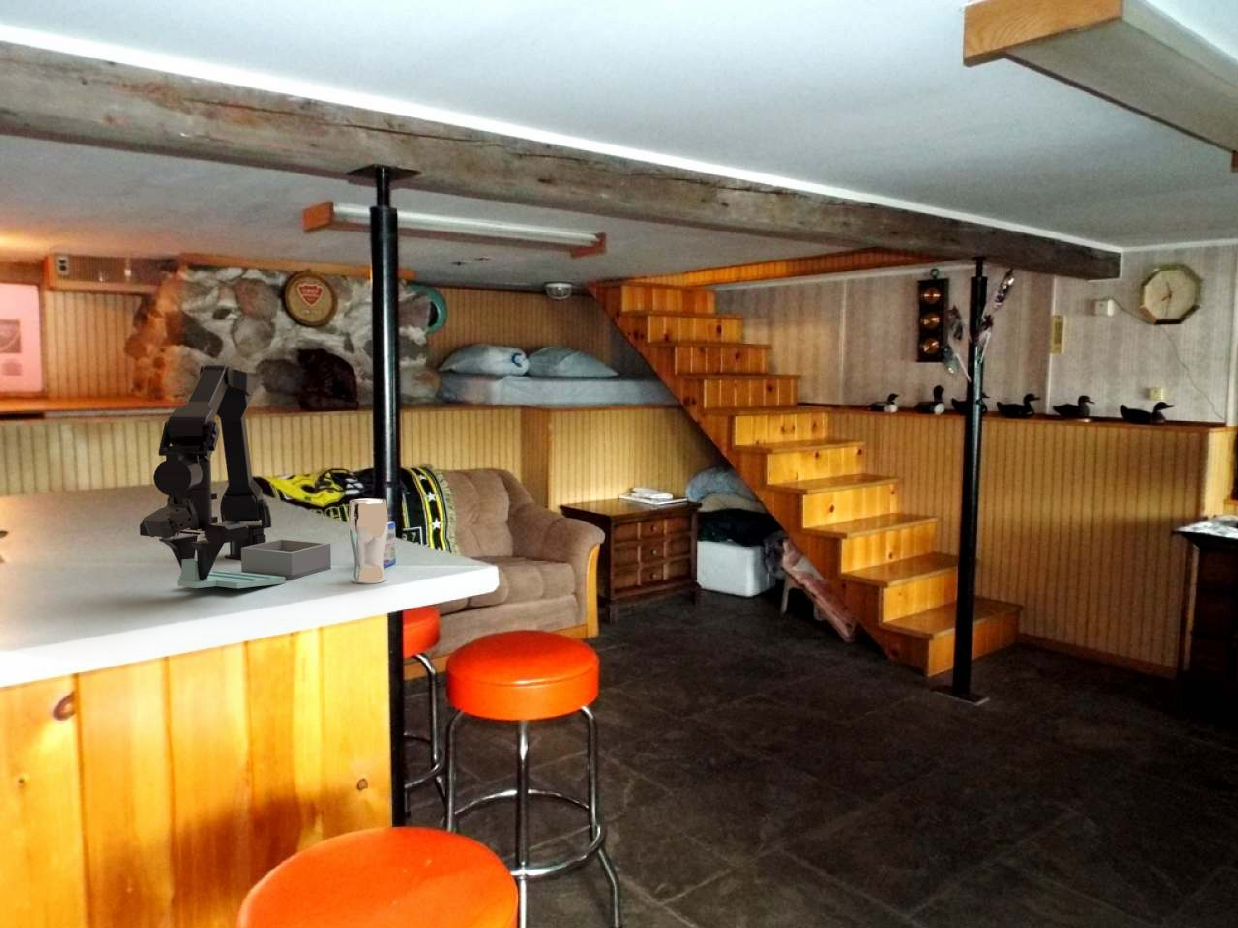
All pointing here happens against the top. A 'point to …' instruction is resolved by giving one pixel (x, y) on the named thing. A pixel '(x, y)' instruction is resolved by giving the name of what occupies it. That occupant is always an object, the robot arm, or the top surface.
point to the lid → (222, 577)
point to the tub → (286, 558)
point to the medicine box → (390, 546)
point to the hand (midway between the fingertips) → (195, 578)
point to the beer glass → (368, 539)
